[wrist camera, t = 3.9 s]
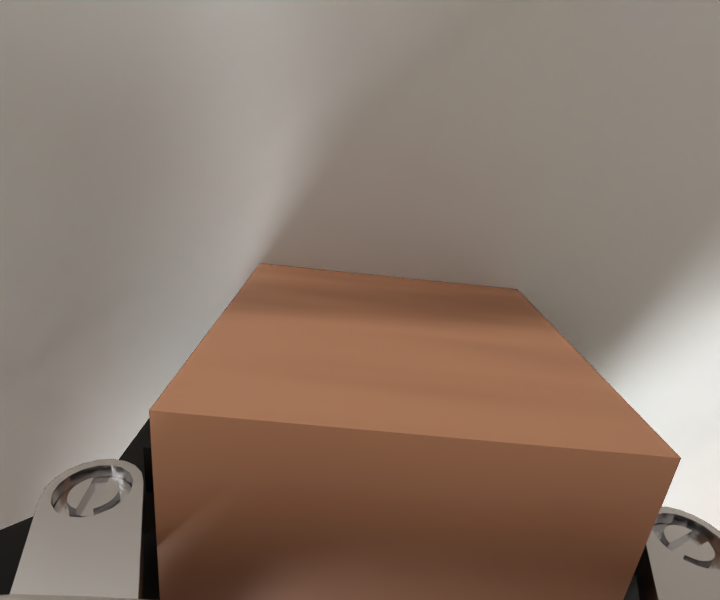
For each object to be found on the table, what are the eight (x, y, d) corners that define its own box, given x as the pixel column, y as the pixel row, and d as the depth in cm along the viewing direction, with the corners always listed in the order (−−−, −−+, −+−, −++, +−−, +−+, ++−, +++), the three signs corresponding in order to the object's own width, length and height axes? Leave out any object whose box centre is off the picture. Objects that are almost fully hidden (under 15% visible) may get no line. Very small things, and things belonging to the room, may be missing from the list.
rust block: (260, 263, 11) (149, 410, 5) (517, 289, 11) (680, 458, 5) (252, 474, 13) (168, 745, 7) (470, 493, 13) (552, 771, 7)
